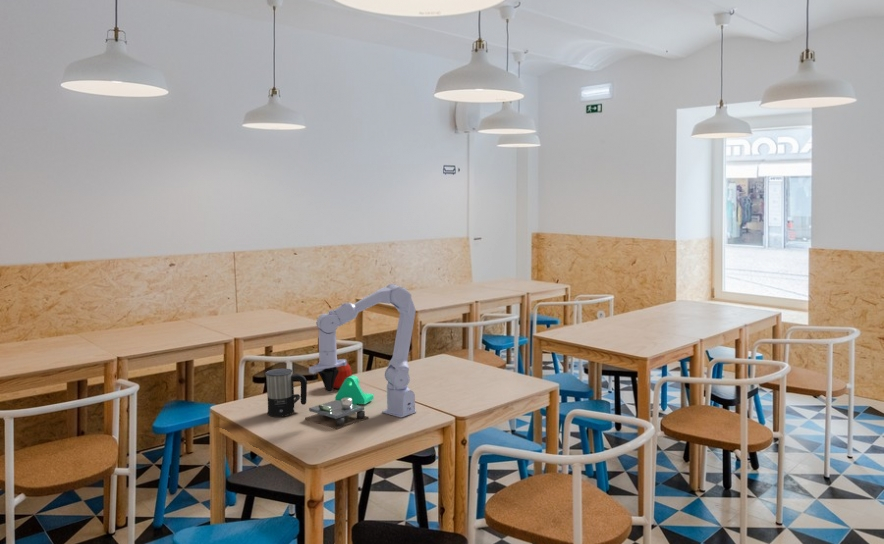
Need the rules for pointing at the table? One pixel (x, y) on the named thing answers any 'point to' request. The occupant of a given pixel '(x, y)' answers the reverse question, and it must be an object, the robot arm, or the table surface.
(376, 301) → the robot arm
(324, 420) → the stand base
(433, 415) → the table surface
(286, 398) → the milk frother
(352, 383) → the camera mount
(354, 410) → the level plate
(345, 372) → the apple
